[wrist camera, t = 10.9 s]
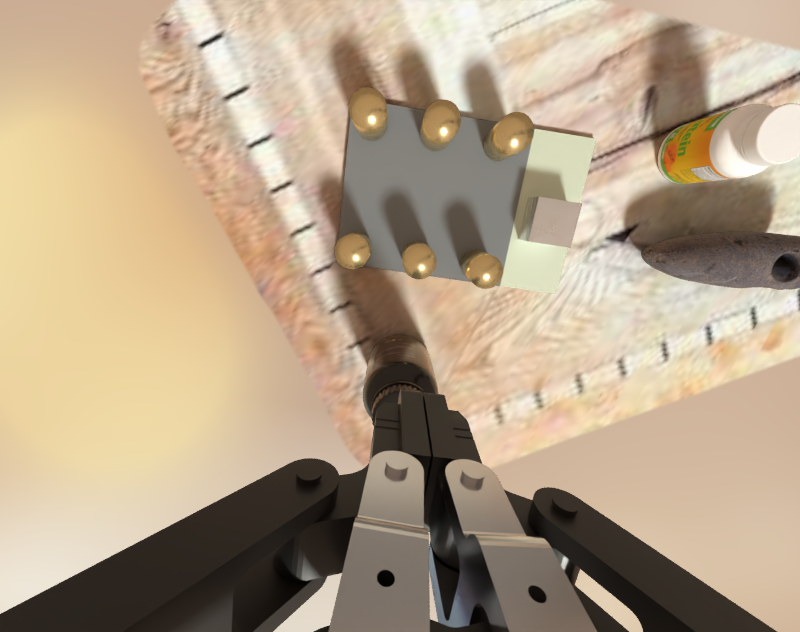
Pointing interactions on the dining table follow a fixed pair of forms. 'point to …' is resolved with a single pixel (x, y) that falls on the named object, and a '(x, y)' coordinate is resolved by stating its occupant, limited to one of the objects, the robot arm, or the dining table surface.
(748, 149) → the supplement bottle
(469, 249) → the mat
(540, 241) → the white faced textured brick
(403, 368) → the supplement bottle
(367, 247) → the spacers
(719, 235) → the perforated stone tool
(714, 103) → the dining table surface
